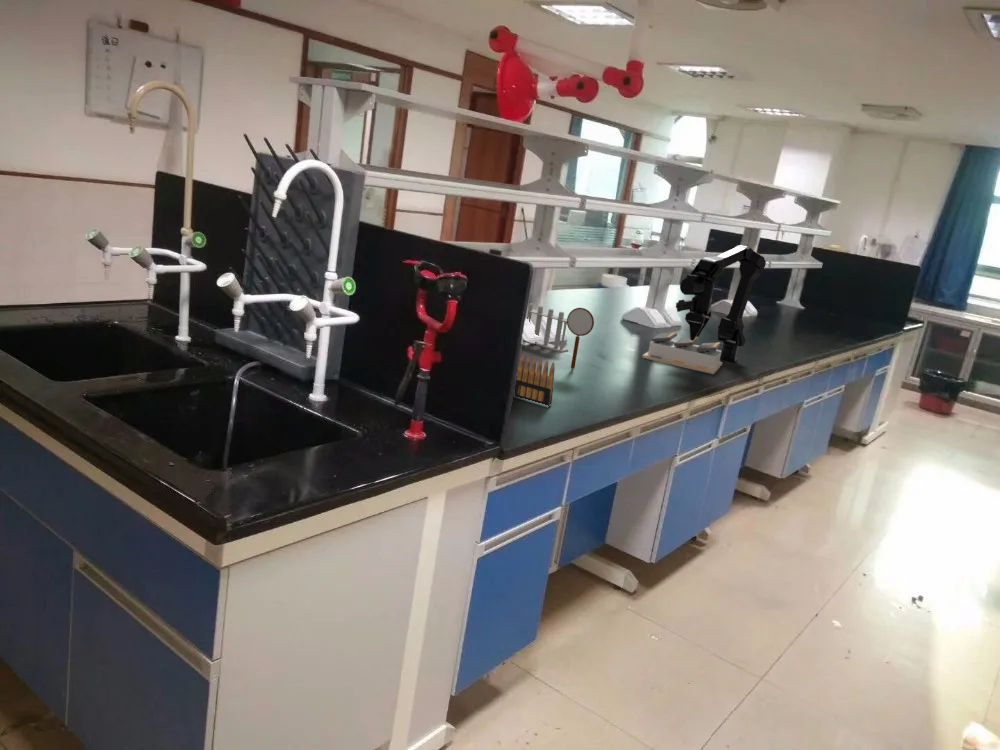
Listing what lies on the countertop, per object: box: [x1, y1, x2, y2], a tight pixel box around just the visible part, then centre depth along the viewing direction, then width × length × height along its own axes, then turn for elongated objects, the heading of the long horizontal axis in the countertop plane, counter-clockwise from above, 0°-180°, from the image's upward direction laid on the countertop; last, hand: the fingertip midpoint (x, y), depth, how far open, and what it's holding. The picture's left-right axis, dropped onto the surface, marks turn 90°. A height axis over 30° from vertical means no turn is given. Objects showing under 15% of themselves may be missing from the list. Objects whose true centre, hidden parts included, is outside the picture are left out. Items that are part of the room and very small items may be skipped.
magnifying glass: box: [566, 307, 595, 372], centre depth 229 cm, size 9×2×20 cm, turn 63°
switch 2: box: [697, 341, 722, 351], centre depth 261 cm, size 12×6×1 cm, turn 155°
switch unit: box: [641, 339, 723, 375], centre depth 265 cm, size 18×25×6 cm
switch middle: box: [674, 337, 700, 346], centre depth 264 cm, size 12×6×1 cm, turn 155°
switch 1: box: [651, 332, 678, 342], centre depth 267 cm, size 12×6×1 cm, turn 155°
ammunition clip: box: [515, 353, 556, 406], centre depth 193 cm, size 11×2×12 cm, turn 62°
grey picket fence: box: [527, 302, 569, 354], centre depth 260 cm, size 25×4×13 cm, turn 51°
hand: (694, 338), depth 263 cm, fingers open, 9 cm apart
